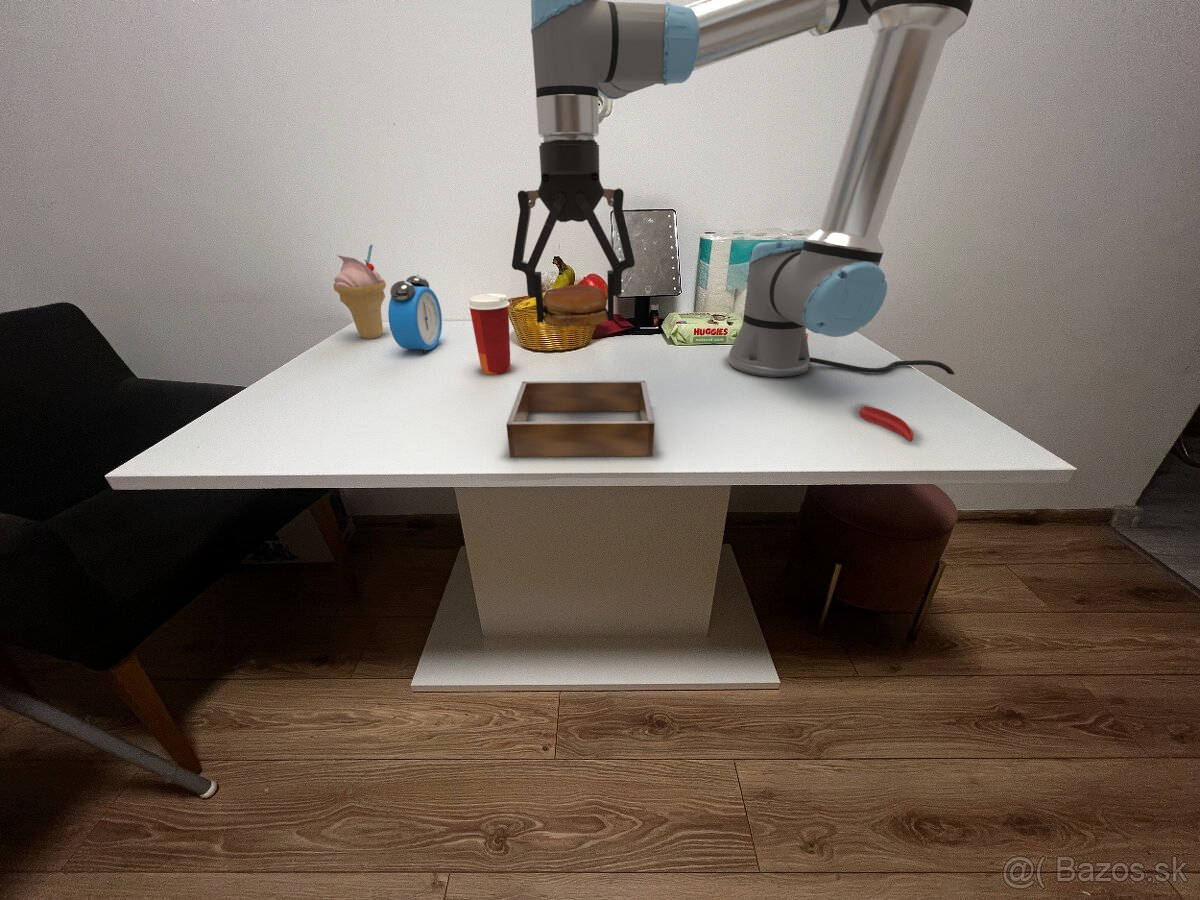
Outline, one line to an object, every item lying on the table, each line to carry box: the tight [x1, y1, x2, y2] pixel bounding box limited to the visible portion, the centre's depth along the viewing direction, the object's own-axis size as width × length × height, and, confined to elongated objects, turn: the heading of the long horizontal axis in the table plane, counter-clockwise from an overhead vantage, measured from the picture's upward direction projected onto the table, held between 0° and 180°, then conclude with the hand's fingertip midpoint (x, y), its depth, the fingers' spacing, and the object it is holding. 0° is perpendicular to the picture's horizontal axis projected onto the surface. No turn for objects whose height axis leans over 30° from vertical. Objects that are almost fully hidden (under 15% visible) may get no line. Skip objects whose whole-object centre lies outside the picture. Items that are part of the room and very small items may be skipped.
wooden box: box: [506, 380, 655, 458], centre depth 75 cm, size 20×16×5 cm
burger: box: [543, 284, 608, 328], centre depth 74 cm, size 10×9×5 cm
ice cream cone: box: [333, 244, 387, 340], centre depth 117 cm, size 11×11×20 cm
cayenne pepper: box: [858, 404, 915, 442], centre depth 78 cm, size 12×5×2 cm, turn 0°
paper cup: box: [467, 293, 511, 376], centre depth 97 cm, size 8×8×14 cm
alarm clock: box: [387, 274, 443, 355], centre depth 109 cm, size 13×6×15 cm, turn 173°
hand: (575, 319), depth 74 cm, fingers closed on burger, 9 cm apart
